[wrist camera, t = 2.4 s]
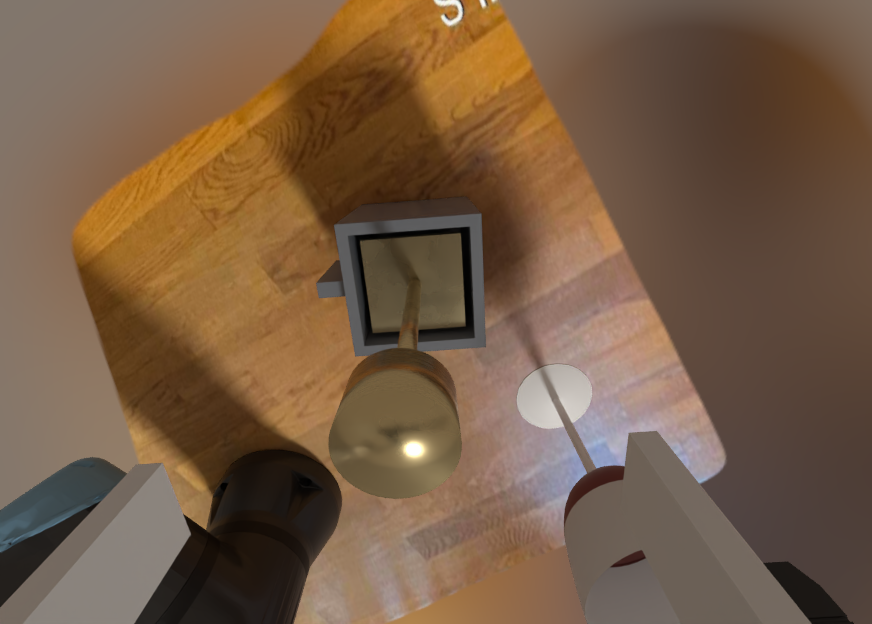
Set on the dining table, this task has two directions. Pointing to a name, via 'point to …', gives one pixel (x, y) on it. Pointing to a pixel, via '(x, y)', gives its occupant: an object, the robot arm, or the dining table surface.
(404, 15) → the dining table surface
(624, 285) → the dining table surface
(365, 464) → the plunger
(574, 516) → the wineglass
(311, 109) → the dining table surface
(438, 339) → the press pot
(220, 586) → the robot arm
